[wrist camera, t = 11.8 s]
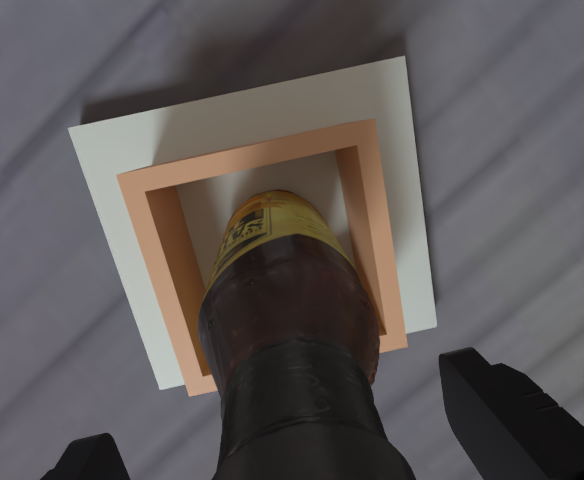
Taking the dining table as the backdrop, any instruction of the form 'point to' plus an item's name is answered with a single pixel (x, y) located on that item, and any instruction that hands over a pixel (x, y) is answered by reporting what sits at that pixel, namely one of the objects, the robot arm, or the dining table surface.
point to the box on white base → (253, 180)
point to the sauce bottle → (293, 351)
